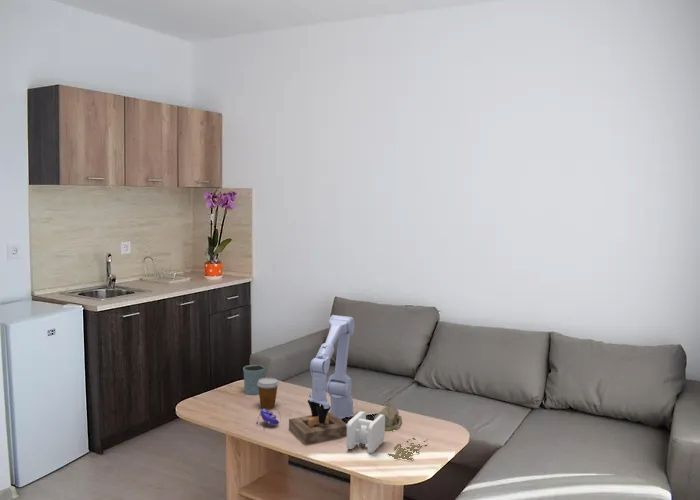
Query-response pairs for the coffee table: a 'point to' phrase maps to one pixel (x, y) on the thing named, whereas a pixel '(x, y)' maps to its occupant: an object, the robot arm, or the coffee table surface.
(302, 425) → the brown piece
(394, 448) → the lettering
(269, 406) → the disposable coffee cup
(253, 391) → the teal cup
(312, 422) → the tan rectangular block
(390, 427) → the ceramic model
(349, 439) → the cable organizer
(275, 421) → the game controller
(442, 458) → the coffee table surface
